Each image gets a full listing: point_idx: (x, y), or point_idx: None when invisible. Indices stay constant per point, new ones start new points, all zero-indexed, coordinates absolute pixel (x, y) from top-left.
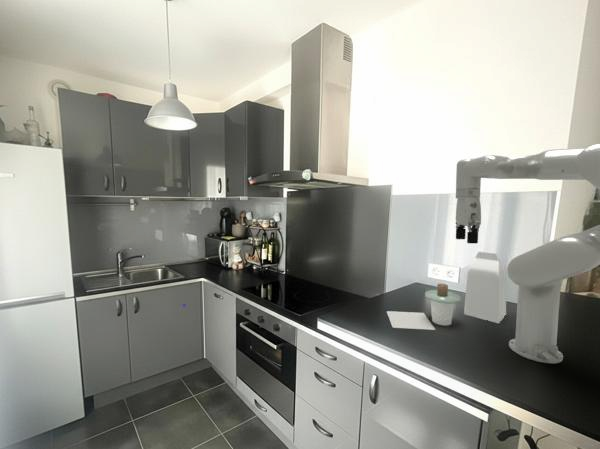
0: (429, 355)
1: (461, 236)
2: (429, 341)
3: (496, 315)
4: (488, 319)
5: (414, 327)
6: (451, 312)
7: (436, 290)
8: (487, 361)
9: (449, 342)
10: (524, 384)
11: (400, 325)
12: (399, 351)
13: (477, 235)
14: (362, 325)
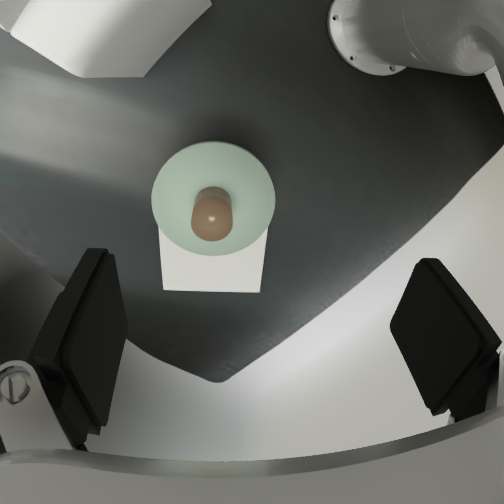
0: (367, 249)
1: (110, 311)
2: (319, 233)
3: (205, 4)
4: (191, 23)
5: (258, 249)
6: None
7: (157, 206)
8: (399, 155)
9: (326, 193)
10: (454, 140)
11: (248, 275)
12: (347, 292)
13: (476, 315)
14: (244, 336)
